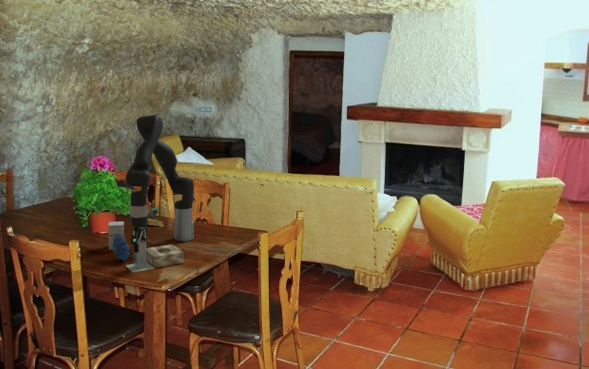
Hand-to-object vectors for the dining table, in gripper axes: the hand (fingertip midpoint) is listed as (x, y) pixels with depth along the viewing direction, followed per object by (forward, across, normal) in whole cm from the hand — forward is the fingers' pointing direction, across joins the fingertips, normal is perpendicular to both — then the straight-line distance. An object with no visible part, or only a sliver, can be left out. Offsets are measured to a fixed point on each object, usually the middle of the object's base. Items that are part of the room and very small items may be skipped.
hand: (139, 249), depth 265 cm
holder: (+9, -11, +7) cm, 16 cm away
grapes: (+9, -8, -13) cm, 17 cm away
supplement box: (+9, -26, -22) cm, 35 cm away
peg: (+8, 0, 0) cm, 8 cm away
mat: (+9, 0, 0) cm, 9 cm away
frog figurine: (+9, -72, -20) cm, 75 cm away
